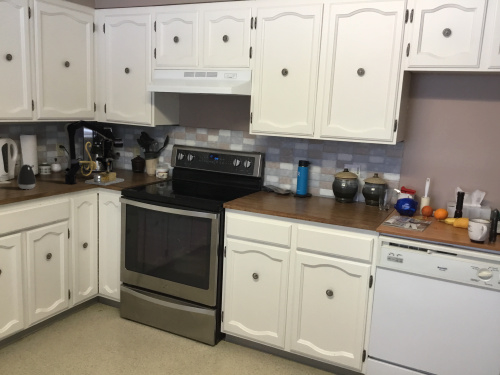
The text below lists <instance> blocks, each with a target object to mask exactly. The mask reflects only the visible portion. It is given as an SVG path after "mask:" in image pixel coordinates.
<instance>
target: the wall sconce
mask: <svg viewBox="0 0 500 375" xmlns="http://www.w3.org/2000/svg"><path fill="white" fill-rule="evenodd" d="M88 144H89V145H88ZM84 147H85V148H84V149H85V151H86V154H87V155H88V157H89V161H88V160H78V161H79V162H80V163H79V164H81V166H80V172H81V174H82V176H84V177H88V176H89V175H91V173H92V172H93V171H94V170H95V171H96V169H97V167H98V164H97V163H96V162H97V161H96V162H95V161H93V160H92V157H91V155H90V152H89V150H88V147H89V148H91V147H92V143H91V142H90V141H87V142H86V143H85V146H84ZM83 168H84V169H85V170H87V171H88V170H89V169H90V171H89V173H87V174H85V173H84V172H83Z"/></svg>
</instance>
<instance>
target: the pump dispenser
mask: <svg viewBox="0 0 500 375" xmlns="http://www.w3.org/2000/svg"><path fill="white" fill-rule="evenodd" d="M34 167H35V164H32V165H30V164H28V163H27V164H26V163H25V164H23V165H22V166H21V167H20V169H19V171H18V175H17V185H18V187H19V188H20V190H23V189H26V190H27V189H29V190H33V188H34V187H35V186H36V183H37V179H36V176H35V172H34V170H33V168H34ZM27 191H28V190H27Z"/></svg>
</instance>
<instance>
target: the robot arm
mask: <svg viewBox="0 0 500 375" xmlns="http://www.w3.org/2000/svg"><path fill="white" fill-rule="evenodd" d="M81 128H85V129H87V130H90V131H93V132H94V133H97V134H98V135H100V136H101V137H102V138H101V139H100V140H99V142H102V149H101V152H102V155H101V156H97V157H95V161H96V162H100V163H101V165H102V167H103V168H104V171H105V172H106V171H107V169H108V163H110V164H109V171H110V170H111V167H112V165H113V163H115V161H116V160H119V159H120V157H121V152H120V151H118V152H114V149H122V148H124V142H123V138H121V137H120V138H119V137H118V138H116V137H115V136H114V133H113V131H112V130H110V129H106V128H101V127H99V126H96V125H94V124H92V123H90V122H87V121H85V120H84V119H79V120H77V121H74V122H72V123H70V122H69V123H65V125H64V126H63V130H64V132H65V135H66V138H67V139H66V140H67V148H68V149H67V150H68V160H67V166H66V168H65V169H64V170H63V172H64V178H65V181H64V182H63V185H64V184H65V185H75V184H78V182H77V181H76V180H77V176H76V175H77V173H78V171H79V170H80V168H81V166H80V164H81V163H80V162H79V161H80V160H77V154H76V153H77V151H76V142H75V141H76V140H75V137H76V134H77V133H76V132H77V130H78V129H81Z"/></svg>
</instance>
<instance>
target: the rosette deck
mask: <svg viewBox="0 0 500 375" xmlns="http://www.w3.org/2000/svg"><path fill="white" fill-rule="evenodd" d="M124 181H125V179H124V178H120V177H117V172H111V171H109V173H106V171H104V172H103V171H101V172H99V174H94V175H93V179H92V178H91V179H88V180H84V183H85V184H91V185H97V186H98V185H100V186H108V185H112V184H117V183H121V182H122V183H123V182H124Z"/></svg>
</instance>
